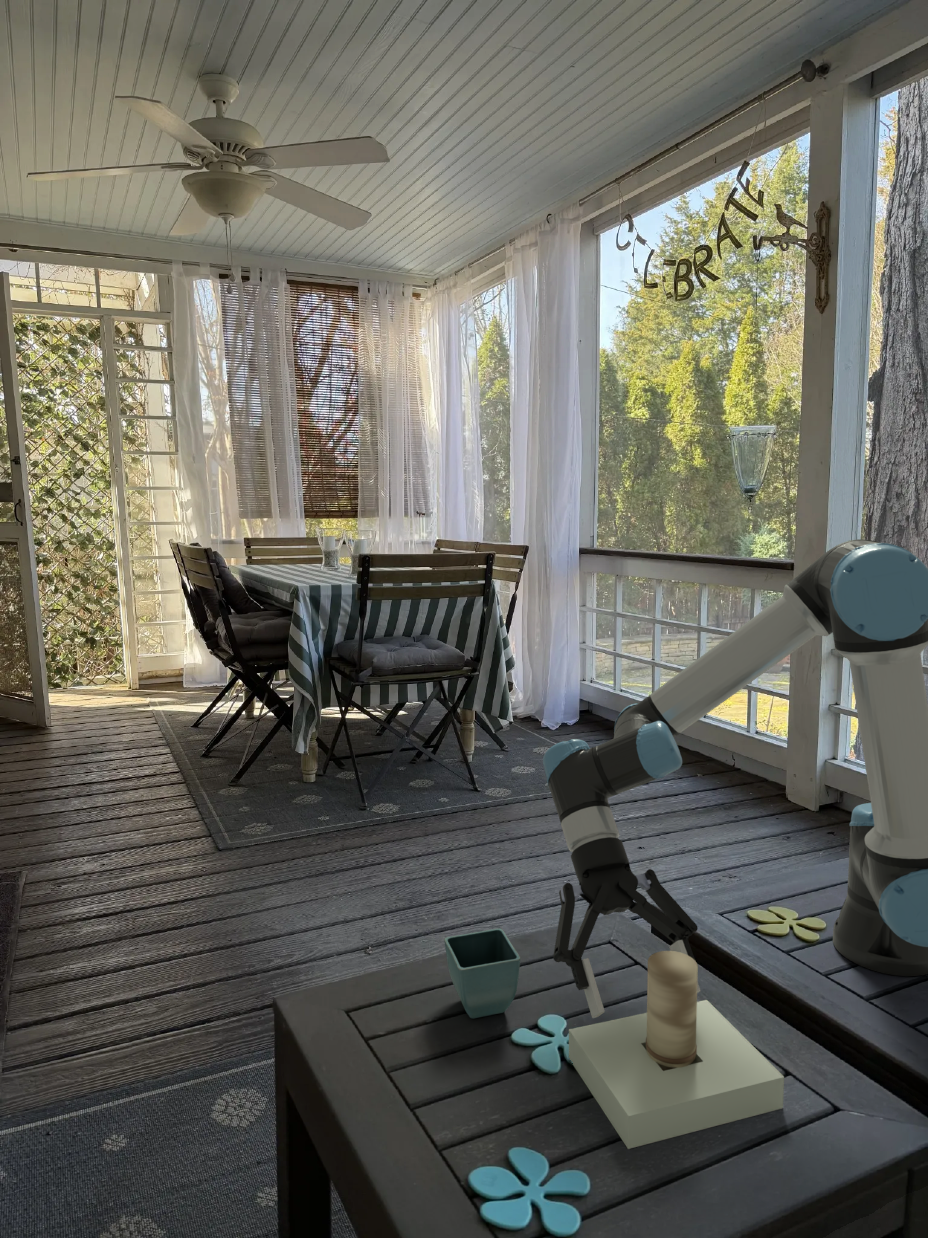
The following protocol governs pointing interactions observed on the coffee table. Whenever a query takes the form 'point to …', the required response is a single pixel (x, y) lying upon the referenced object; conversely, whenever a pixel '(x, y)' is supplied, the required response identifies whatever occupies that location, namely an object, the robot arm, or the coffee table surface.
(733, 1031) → the sage board
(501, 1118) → the coffee table surface
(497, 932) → the flower pot
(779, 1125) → the coffee table surface
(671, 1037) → the tan wooden cylinder
